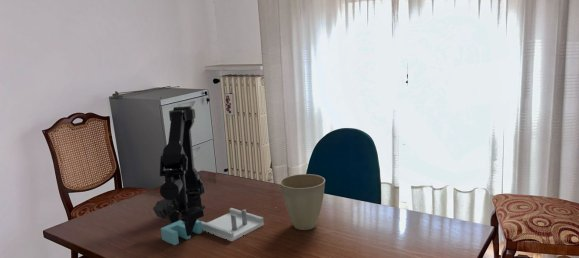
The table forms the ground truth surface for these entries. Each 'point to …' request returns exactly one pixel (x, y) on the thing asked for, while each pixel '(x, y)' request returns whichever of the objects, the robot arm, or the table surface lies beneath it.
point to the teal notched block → (178, 231)
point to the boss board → (228, 226)
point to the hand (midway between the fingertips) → (182, 233)
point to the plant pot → (303, 199)
